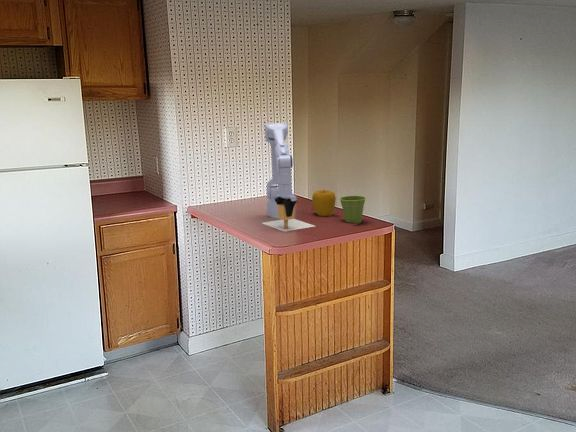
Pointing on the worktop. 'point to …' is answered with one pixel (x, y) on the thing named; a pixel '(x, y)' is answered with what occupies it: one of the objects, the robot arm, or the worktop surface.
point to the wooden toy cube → (283, 213)
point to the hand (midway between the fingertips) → (285, 215)
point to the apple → (324, 202)
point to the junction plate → (288, 224)
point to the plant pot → (353, 208)
